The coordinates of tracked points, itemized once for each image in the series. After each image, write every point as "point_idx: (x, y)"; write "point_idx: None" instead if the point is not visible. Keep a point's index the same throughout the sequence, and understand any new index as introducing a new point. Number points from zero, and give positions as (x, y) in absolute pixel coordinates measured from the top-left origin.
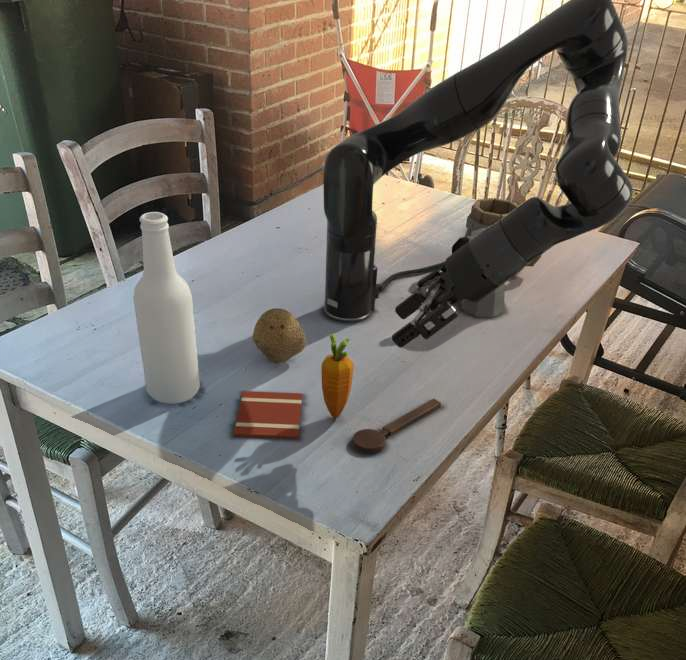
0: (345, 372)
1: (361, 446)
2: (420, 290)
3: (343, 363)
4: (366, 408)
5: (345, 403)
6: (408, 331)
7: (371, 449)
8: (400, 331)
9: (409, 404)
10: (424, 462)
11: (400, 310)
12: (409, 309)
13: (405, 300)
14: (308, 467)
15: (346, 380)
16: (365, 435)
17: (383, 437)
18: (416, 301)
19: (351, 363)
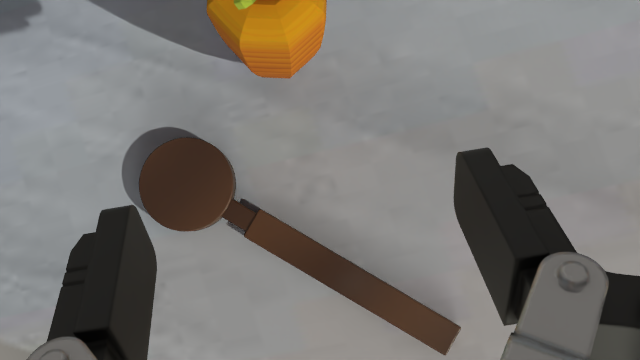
0: (228, 34)
1: (142, 172)
2: (529, 326)
3: (236, 9)
4: (360, 137)
5: (265, 76)
6: (55, 321)
7: (142, 202)
8: (90, 260)
9: (424, 256)
10: (156, 356)
11: (466, 185)
12: (478, 241)
13: (507, 205)
14: (41, 55)
15: (236, 50)
16: (196, 170)
17: (203, 223)
18: (508, 287)
19: (271, 40)
